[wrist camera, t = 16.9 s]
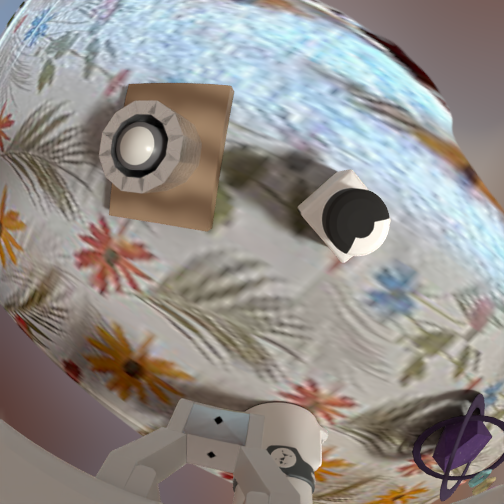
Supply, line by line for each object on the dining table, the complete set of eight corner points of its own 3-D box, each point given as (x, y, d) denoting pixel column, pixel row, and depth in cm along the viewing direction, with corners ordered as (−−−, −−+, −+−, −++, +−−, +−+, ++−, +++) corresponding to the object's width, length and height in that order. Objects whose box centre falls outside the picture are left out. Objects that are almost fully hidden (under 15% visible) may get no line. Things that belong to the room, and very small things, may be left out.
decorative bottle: (493, 419, 42) (534, 484, 18) (424, 467, 46) (449, 541, 22) (483, 372, 39) (545, 453, 15) (397, 434, 44) (429, 533, 19)
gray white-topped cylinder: (175, 172, 33) (154, 171, 27) (138, 169, 33) (113, 168, 27) (181, 131, 31) (162, 122, 26) (144, 129, 32) (120, 121, 26)
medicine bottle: (295, 207, 36) (303, 219, 24) (337, 170, 34) (365, 165, 23) (332, 249, 37) (354, 280, 25) (373, 213, 35) (411, 228, 23)
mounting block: (212, 228, 37) (207, 231, 35) (118, 213, 38) (109, 215, 36) (234, 91, 33) (231, 85, 31) (136, 88, 34) (128, 84, 31)
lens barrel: (194, 194, 34) (174, 197, 27) (125, 185, 35) (95, 187, 28) (207, 116, 32) (189, 101, 25) (136, 113, 32) (108, 101, 25)
